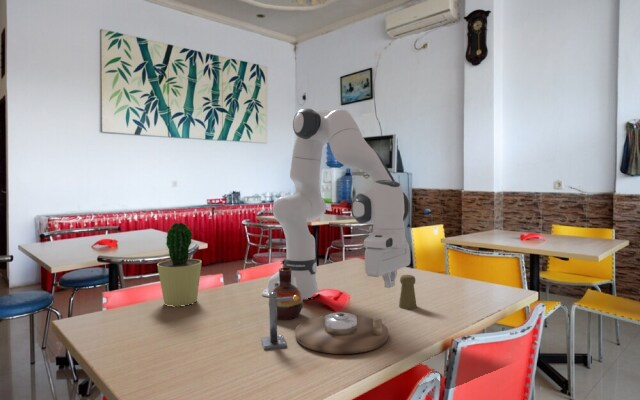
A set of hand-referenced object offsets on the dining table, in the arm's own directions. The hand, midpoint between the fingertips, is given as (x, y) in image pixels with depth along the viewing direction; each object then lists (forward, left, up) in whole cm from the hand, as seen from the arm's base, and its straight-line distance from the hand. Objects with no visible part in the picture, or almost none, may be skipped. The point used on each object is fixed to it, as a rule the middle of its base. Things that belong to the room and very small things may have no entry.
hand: (389, 286), depth 115 cm
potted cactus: (-79, +3, -14) cm, 80 cm away
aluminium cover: (-12, -6, -12) cm, 18 cm away
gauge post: (-26, -17, -14) cm, 34 cm away
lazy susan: (-13, -6, -14) cm, 20 cm away
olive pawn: (-1, +28, -14) cm, 31 cm away
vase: (-36, +4, -14) cm, 38 cm away
